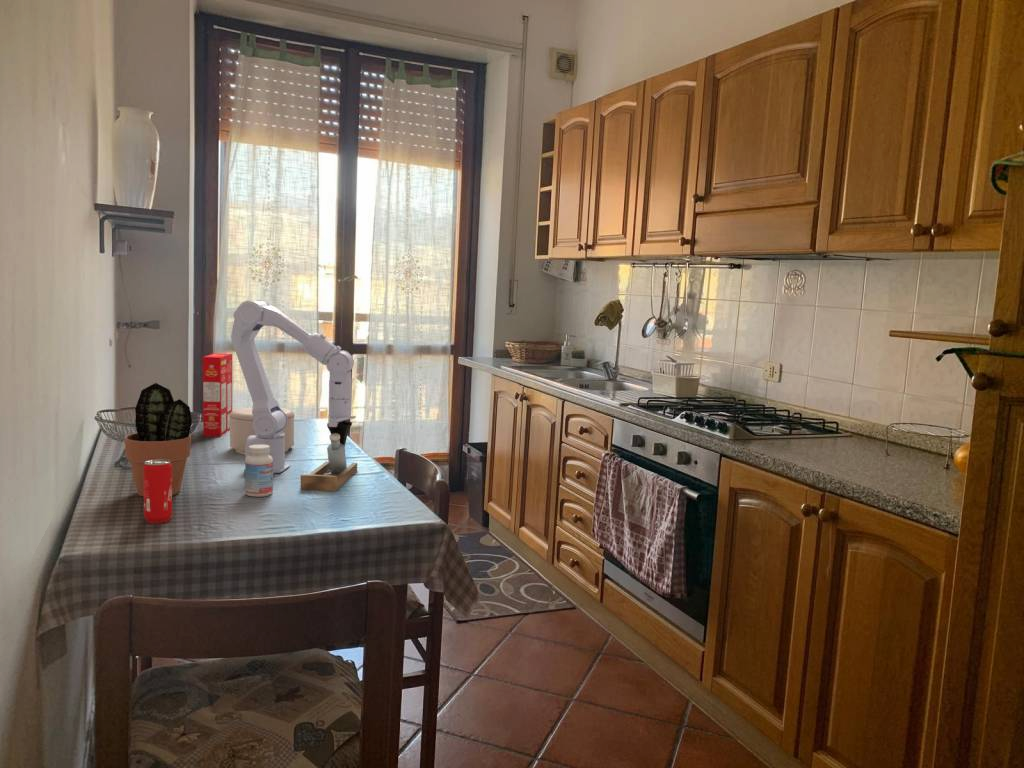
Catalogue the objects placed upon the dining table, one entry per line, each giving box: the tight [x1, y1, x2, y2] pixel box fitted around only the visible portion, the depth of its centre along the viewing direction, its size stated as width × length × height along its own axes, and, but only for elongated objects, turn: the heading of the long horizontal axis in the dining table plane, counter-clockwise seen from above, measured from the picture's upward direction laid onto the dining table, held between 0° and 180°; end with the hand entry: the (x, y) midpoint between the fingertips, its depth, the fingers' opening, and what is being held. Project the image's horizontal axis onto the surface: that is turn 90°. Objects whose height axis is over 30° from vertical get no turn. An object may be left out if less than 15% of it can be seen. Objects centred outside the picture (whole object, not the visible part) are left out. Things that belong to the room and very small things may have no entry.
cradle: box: [299, 461, 358, 492], centre depth 193 cm, size 8×21×4 cm, turn 178°
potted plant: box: [124, 382, 193, 498], centre depth 174 cm, size 14×14×25 cm
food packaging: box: [202, 352, 233, 437], centre depth 248 cm, size 15×5×25 cm, turn 6°
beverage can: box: [143, 459, 173, 524], centre depth 154 cm, size 5×5×12 cm
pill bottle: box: [244, 445, 274, 498], centre depth 177 cm, size 6×6×11 cm
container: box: [229, 406, 295, 455], centre depth 225 cm, size 18×18×12 cm
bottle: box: [326, 433, 348, 474], centre depth 198 cm, size 4×4×11 cm
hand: (339, 449), depth 201 cm, fingers closed
